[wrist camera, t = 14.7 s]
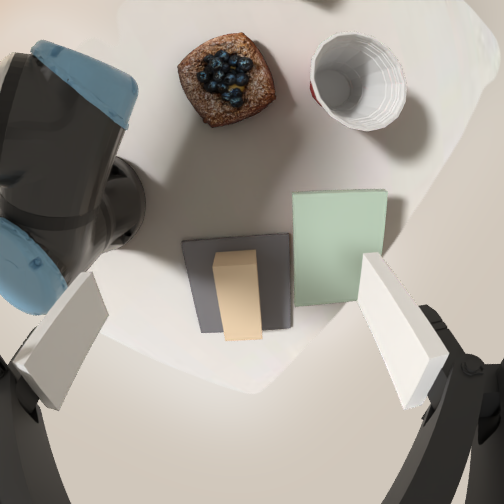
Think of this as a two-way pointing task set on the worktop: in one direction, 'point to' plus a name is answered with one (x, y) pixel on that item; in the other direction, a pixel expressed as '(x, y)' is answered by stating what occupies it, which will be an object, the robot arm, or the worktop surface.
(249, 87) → the pastry
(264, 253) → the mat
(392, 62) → the plastic cup
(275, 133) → the worktop surface
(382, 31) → the worktop surface
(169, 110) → the worktop surface
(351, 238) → the sheet
